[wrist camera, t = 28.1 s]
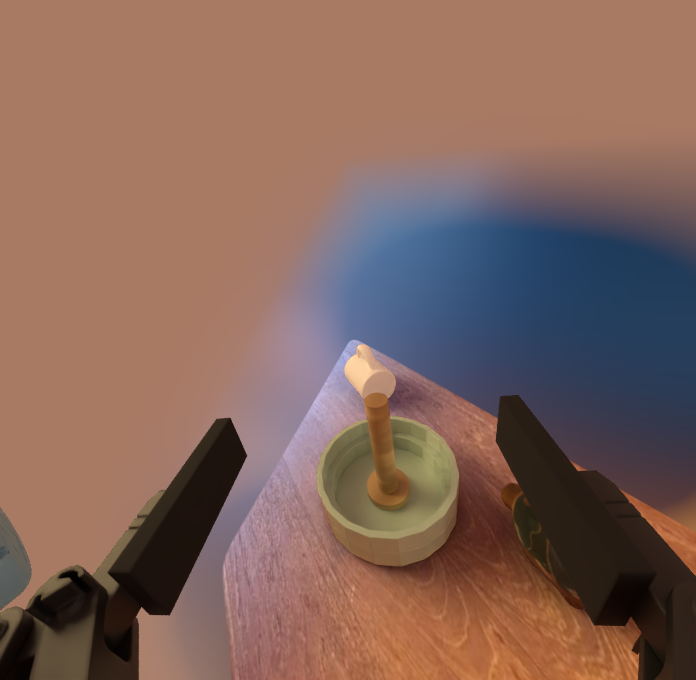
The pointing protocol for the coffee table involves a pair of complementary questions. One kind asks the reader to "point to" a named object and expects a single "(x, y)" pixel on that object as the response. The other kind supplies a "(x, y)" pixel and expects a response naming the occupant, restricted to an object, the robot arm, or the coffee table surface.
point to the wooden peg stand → (384, 457)
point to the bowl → (398, 525)
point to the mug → (369, 374)
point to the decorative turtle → (537, 543)
